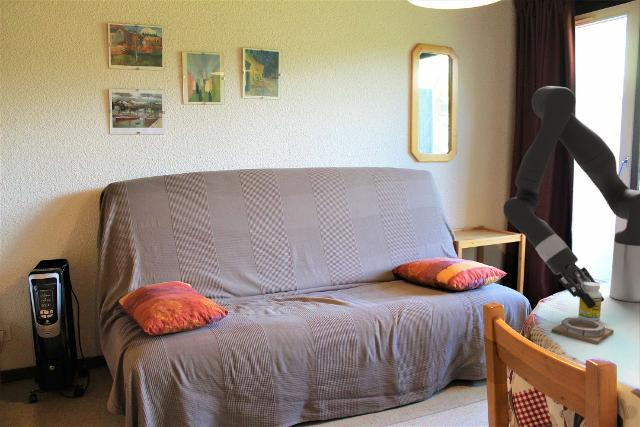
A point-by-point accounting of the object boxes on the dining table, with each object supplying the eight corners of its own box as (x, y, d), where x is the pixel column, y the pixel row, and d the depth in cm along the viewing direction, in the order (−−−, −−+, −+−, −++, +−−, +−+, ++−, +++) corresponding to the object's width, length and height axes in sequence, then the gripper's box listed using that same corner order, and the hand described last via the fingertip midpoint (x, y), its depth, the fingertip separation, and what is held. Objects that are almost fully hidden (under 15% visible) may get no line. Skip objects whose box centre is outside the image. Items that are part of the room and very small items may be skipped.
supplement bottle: (585, 313, 153) (587, 280, 152) (603, 318, 149) (606, 284, 147) (574, 316, 150) (576, 282, 149) (592, 322, 146) (595, 287, 144)
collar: (568, 321, 146) (569, 313, 146) (613, 332, 138) (613, 324, 138) (551, 332, 138) (552, 323, 138) (597, 344, 130) (598, 334, 130)
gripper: (555, 250, 147) (598, 302, 140) (576, 242, 157) (617, 291, 150) (534, 265, 151) (576, 317, 145) (556, 257, 161) (595, 306, 155)
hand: (597, 304), depth 147 cm, fingers closed on supplement bottle, 5 cm apart
